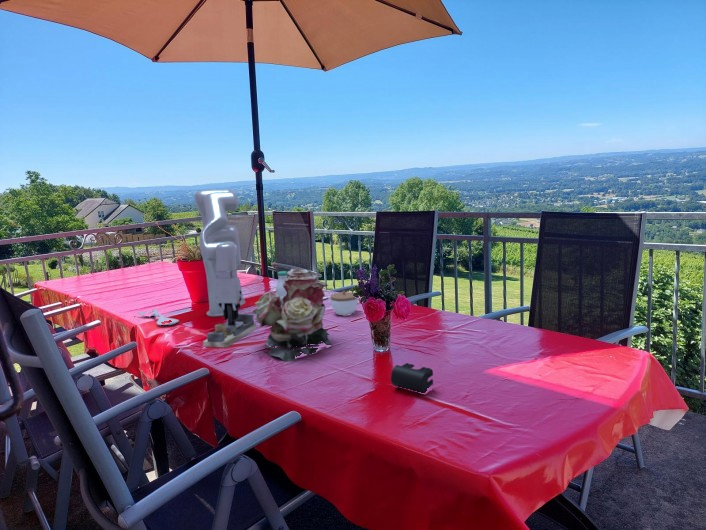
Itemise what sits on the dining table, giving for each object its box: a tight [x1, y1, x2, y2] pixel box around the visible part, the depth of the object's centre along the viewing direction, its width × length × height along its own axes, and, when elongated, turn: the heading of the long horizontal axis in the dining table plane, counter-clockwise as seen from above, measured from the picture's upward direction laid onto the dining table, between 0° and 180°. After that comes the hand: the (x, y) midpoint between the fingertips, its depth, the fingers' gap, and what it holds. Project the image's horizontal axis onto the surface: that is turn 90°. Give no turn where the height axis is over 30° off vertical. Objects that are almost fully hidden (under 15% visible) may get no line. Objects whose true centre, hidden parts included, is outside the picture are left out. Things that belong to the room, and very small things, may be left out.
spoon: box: [137, 307, 180, 326], centre depth 214 cm, size 9×32×4 cm, turn 44°
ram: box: [223, 303, 243, 334], centre depth 184 cm, size 7×8×12 cm
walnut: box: [214, 323, 227, 338], centre depth 177 cm, size 4×4×5 cm
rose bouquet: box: [252, 267, 332, 362], centre depth 165 cm, size 26×29×30 cm
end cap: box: [390, 362, 434, 393], centre depth 128 cm, size 10×7×7 cm
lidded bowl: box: [330, 290, 359, 315], centre depth 210 cm, size 13×13×11 cm
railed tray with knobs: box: [202, 313, 257, 348], centre depth 184 cm, size 10×25×6 cm, turn 166°
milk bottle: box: [275, 270, 288, 296], centre depth 217 cm, size 8×8×20 cm
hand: (231, 318), depth 185 cm, fingers closed on ram, 3 cm apart
